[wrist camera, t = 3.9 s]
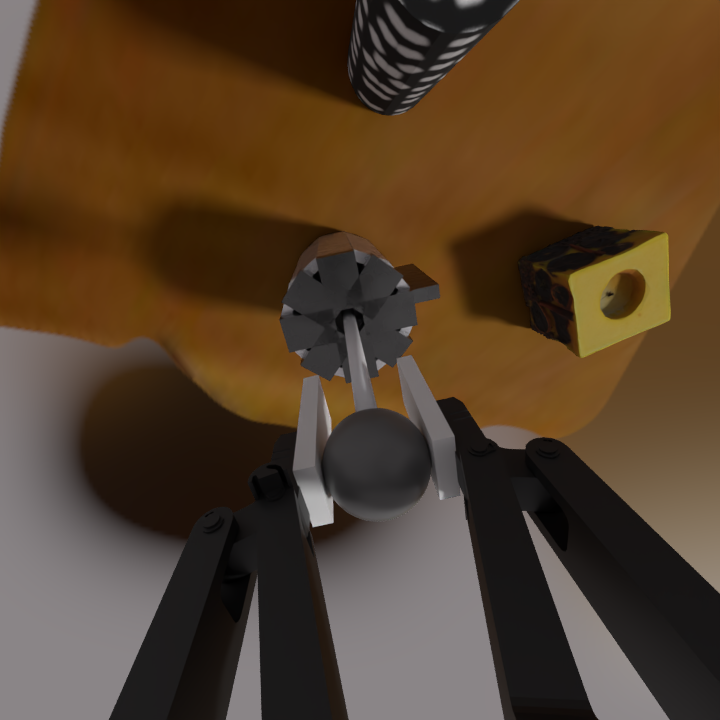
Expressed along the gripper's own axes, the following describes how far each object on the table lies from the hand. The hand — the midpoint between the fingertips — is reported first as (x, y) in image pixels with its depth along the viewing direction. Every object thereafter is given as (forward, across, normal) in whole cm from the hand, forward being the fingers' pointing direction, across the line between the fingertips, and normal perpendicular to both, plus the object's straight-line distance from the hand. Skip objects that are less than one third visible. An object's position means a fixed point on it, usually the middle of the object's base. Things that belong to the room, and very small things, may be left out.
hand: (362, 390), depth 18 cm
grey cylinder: (+27, +1, 0) cm, 27 cm away
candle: (+27, +27, -6) cm, 39 cm away
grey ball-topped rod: (+17, 0, 0) cm, 17 cm away
